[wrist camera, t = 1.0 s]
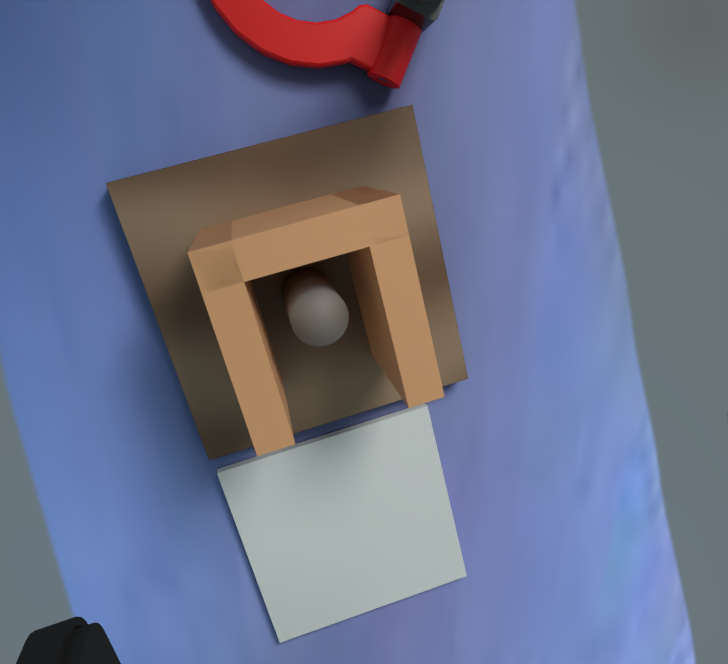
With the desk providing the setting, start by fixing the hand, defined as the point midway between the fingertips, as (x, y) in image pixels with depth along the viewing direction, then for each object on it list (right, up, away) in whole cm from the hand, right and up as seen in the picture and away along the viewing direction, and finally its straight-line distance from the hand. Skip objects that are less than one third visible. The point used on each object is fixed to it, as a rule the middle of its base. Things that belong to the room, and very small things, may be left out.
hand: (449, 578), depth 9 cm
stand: (-4, +5, +17) cm, 18 cm away
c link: (-4, +5, +16) cm, 17 cm away
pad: (-2, -6, +21) cm, 22 cm away
